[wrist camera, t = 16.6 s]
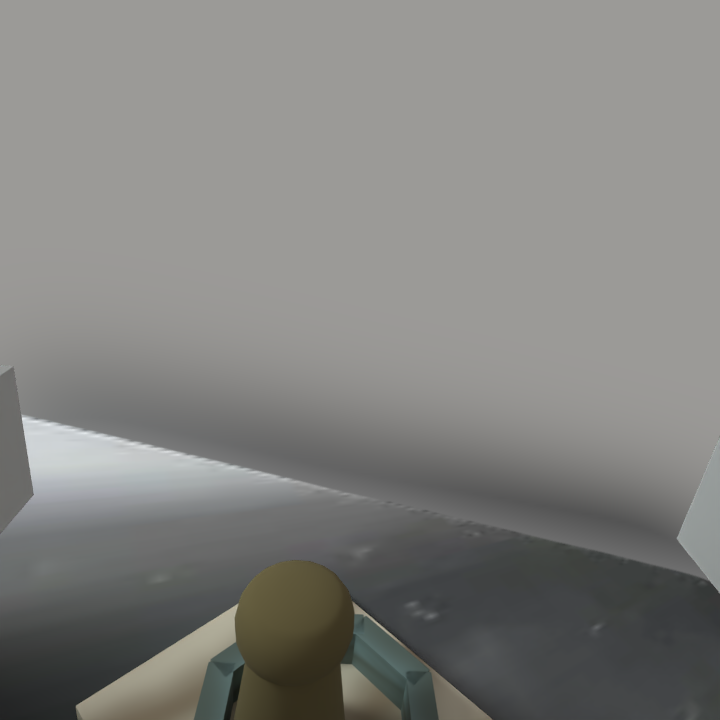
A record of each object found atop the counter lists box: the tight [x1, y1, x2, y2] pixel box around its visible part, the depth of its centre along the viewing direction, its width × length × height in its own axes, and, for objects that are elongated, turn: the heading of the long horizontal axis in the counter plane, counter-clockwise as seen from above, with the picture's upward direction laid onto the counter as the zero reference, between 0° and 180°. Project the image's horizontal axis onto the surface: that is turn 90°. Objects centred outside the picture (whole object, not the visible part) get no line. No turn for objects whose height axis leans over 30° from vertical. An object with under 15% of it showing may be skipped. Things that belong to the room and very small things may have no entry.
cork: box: [234, 560, 355, 720], centre depth 25 cm, size 6×6×11 cm
